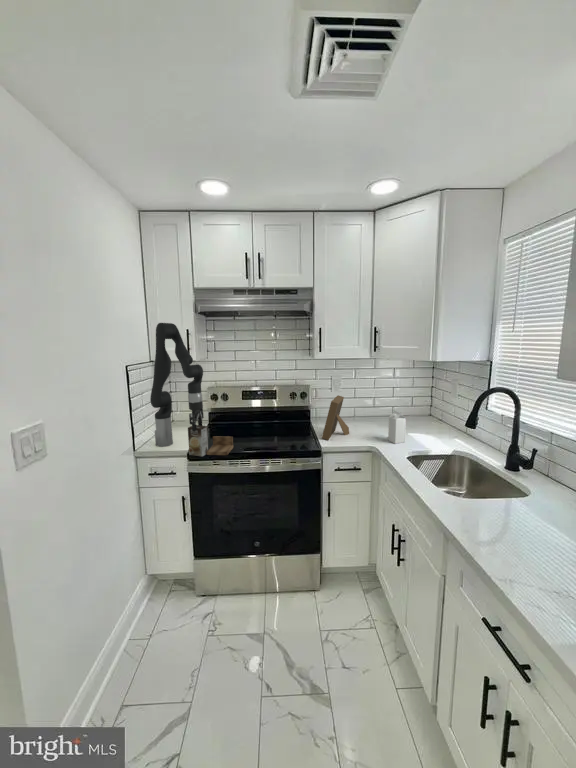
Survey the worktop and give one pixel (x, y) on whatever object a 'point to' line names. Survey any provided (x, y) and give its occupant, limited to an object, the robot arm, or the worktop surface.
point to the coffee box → (198, 441)
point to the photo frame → (334, 419)
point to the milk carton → (397, 427)
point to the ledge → (221, 445)
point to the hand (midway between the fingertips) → (197, 428)
